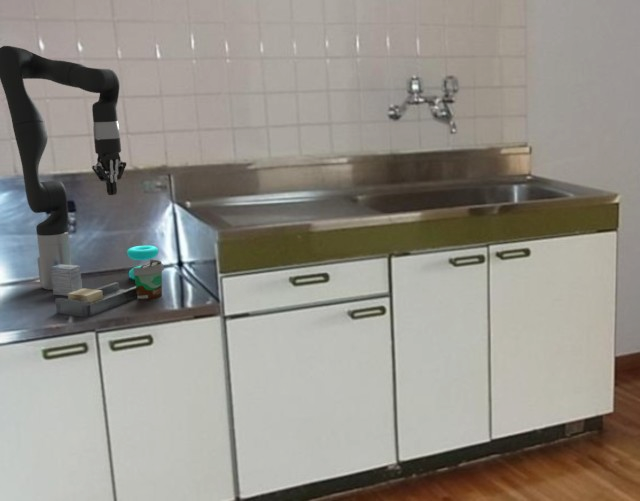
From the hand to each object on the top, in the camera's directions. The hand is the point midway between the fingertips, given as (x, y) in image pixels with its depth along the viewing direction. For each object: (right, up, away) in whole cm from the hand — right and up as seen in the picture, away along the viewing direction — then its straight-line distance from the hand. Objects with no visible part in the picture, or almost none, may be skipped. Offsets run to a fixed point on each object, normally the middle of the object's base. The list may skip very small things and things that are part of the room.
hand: (112, 194), depth 225 cm
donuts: (+6, -26, +18) cm, 32 cm away
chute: (+1, -32, -13) cm, 35 cm away
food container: (+14, -31, -7) cm, 35 cm away
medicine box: (-13, -30, 0) cm, 33 cm away
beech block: (-2, -32, -18) cm, 37 cm away
